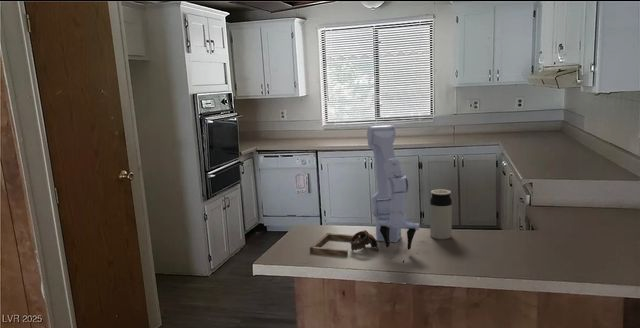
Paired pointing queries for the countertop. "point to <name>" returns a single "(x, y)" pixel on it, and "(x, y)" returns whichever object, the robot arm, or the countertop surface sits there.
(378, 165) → the robot arm
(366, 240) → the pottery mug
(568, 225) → the countertop surface
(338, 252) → the bar
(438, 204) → the travel mug
